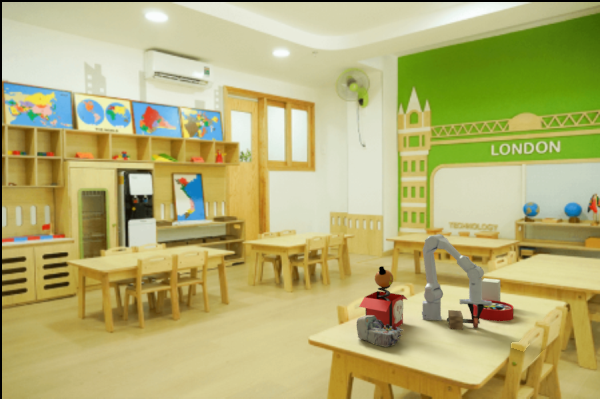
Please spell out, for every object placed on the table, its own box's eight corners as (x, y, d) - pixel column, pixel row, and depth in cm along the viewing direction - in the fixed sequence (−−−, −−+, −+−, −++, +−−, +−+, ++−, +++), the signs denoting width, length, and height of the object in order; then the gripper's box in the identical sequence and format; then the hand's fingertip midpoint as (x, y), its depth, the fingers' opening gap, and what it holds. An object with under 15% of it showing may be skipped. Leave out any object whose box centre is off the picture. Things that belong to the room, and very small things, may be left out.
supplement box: (500, 305, 251) (501, 279, 251) (498, 309, 244) (498, 282, 243) (484, 302, 256) (484, 277, 256) (481, 306, 249) (481, 280, 248)
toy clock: (469, 299, 244) (507, 300, 240) (469, 309, 244) (507, 311, 240) (476, 309, 224) (518, 311, 220) (476, 320, 224) (518, 322, 220)
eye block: (449, 329, 211) (449, 315, 211) (448, 322, 221) (448, 310, 221) (463, 330, 210) (463, 316, 209) (460, 323, 219) (460, 310, 219)
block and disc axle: (446, 327, 213) (446, 315, 213) (446, 323, 219) (446, 312, 219) (480, 329, 210) (480, 317, 209) (478, 325, 215) (478, 314, 215)
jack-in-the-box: (388, 334, 204) (388, 271, 203) (359, 328, 213) (358, 268, 212) (409, 320, 225) (409, 263, 224) (382, 315, 234) (382, 260, 233)
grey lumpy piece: (365, 310, 207) (405, 318, 195) (364, 332, 207) (405, 342, 196) (352, 317, 196) (394, 326, 185) (352, 341, 196) (394, 351, 185)
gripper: (460, 292, 210) (460, 320, 211) (492, 294, 206) (492, 322, 207) (459, 289, 217) (459, 316, 217) (490, 291, 213) (490, 318, 214)
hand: (475, 319), depth 213 cm, fingers closed on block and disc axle, 2 cm apart
